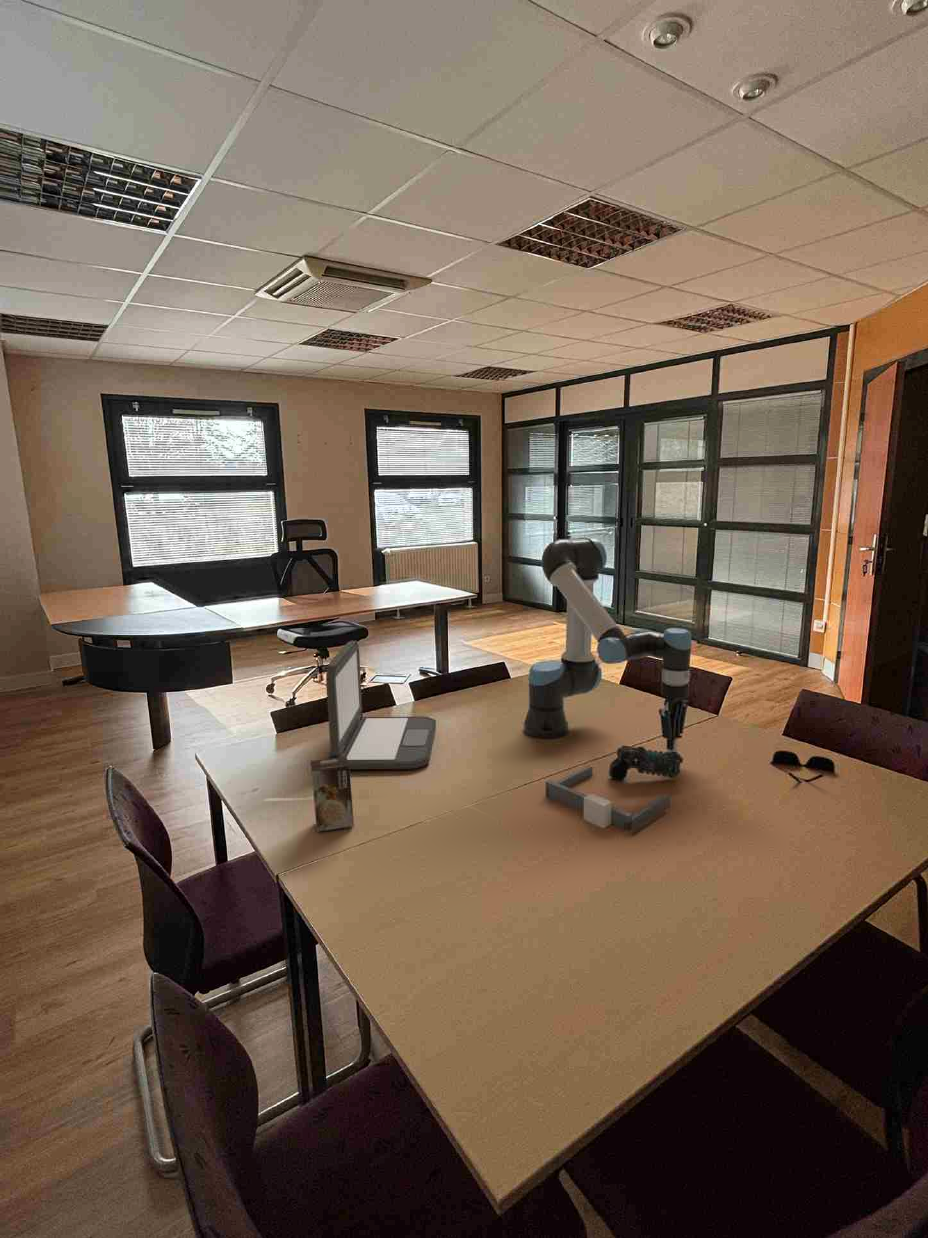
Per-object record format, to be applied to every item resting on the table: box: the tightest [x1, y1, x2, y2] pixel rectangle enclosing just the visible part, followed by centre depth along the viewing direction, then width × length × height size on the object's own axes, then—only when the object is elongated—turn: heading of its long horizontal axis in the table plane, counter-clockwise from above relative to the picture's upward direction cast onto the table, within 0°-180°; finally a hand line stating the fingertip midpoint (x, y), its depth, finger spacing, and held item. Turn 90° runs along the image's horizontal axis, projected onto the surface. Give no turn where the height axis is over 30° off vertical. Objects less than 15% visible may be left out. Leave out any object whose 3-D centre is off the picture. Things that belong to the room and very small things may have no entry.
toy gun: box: [608, 745, 684, 781], centre depth 176 cm, size 4×19×10 cm, turn 84°
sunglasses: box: [769, 750, 836, 783], centre depth 175 cm, size 17×14×5 cm
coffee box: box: [310, 757, 355, 832], centre depth 155 cm, size 9×6×16 cm
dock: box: [545, 764, 671, 836], centre depth 163 cm, size 28×22×6 cm
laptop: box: [325, 640, 437, 770], centre depth 201 cm, size 38×31×32 cm
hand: (671, 758), depth 186 cm, fingers closed
